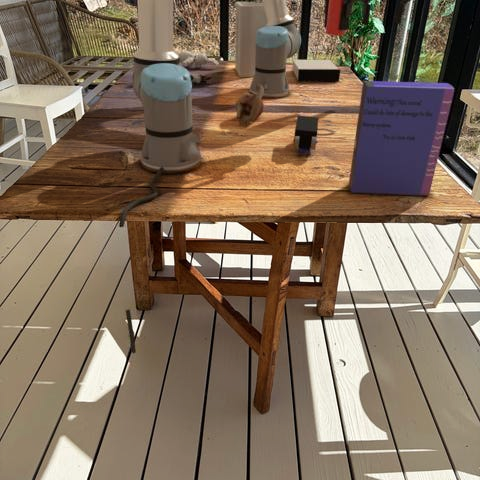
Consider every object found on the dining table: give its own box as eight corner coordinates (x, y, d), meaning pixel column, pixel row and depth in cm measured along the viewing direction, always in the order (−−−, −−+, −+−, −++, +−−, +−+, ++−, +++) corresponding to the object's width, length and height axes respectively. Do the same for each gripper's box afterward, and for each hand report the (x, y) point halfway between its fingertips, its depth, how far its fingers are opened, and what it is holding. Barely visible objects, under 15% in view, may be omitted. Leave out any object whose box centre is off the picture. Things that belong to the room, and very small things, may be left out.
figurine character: (316, 163, 128) (316, 138, 139) (319, 137, 123) (319, 114, 135) (291, 161, 128) (293, 137, 140) (293, 135, 124) (295, 112, 135)
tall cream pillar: (273, 76, 210) (276, 6, 196) (239, 77, 209) (240, 6, 194) (266, 67, 226) (268, 2, 212) (235, 67, 225) (235, 1, 210)
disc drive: (297, 81, 203) (298, 69, 200) (291, 70, 222) (292, 58, 220) (338, 81, 203) (340, 69, 201) (329, 70, 223) (330, 59, 220)
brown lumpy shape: (251, 126, 162) (245, 130, 148) (232, 108, 161) (224, 111, 147) (276, 97, 158) (272, 99, 144) (257, 79, 157) (251, 79, 143)
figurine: (134, 83, 183) (212, 90, 186) (134, 61, 180) (213, 69, 184) (141, 80, 205) (210, 87, 209) (141, 61, 202) (211, 68, 206)
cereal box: (423, 187, 112) (447, 82, 100) (428, 195, 108) (454, 87, 96) (348, 184, 113) (363, 79, 101) (351, 192, 109) (367, 85, 96)
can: (340, 32, 137) (344, -8, 132) (348, 35, 133) (353, -7, 127) (322, 32, 136) (326, -8, 130) (330, 35, 131) (335, -7, 126)
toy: (173, 74, 211) (173, 58, 207) (150, 64, 229) (148, 49, 225) (220, 68, 223) (220, 53, 219) (194, 59, 240) (194, 44, 237)
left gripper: (384, -71, 117) (369, 32, 128) (333, -69, 130) (324, 24, 142) (362, -72, 113) (349, 33, 125) (312, -71, 126) (304, 25, 138)
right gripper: (366, -46, 153) (357, 26, 164) (429, -45, 161) (416, 24, 172) (353, -46, 159) (345, 23, 170) (415, -45, 167) (403, 21, 178)
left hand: (335, 28), depth 133 cm, fingers closed on can, 5 cm apart
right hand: (381, 24), depth 171 cm, fingers open, 13 cm apart
